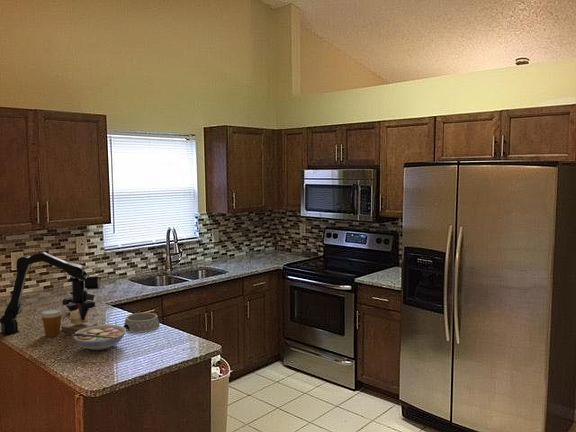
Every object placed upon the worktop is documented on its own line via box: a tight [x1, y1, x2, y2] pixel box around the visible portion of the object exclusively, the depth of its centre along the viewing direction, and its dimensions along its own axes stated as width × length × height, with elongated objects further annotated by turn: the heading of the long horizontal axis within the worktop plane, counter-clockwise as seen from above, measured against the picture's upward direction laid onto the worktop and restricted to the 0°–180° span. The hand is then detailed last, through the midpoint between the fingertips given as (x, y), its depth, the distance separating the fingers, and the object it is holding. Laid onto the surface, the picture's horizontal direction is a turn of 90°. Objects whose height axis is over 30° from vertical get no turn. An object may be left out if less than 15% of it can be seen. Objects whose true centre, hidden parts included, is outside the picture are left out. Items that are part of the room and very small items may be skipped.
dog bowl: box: [123, 312, 160, 332], centre depth 259 cm, size 17×18×5 cm
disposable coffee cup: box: [40, 308, 63, 338], centre depth 244 cm, size 10×10×12 cm
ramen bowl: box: [64, 324, 127, 351], centre depth 227 cm, size 25×23×8 cm
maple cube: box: [69, 309, 89, 325], centre depth 253 cm, size 6×6×6 cm
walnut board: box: [61, 321, 98, 333], centre depth 254 cm, size 12×12×2 cm
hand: (79, 319), depth 254 cm, fingers closed on maple cube, 6 cm apart
